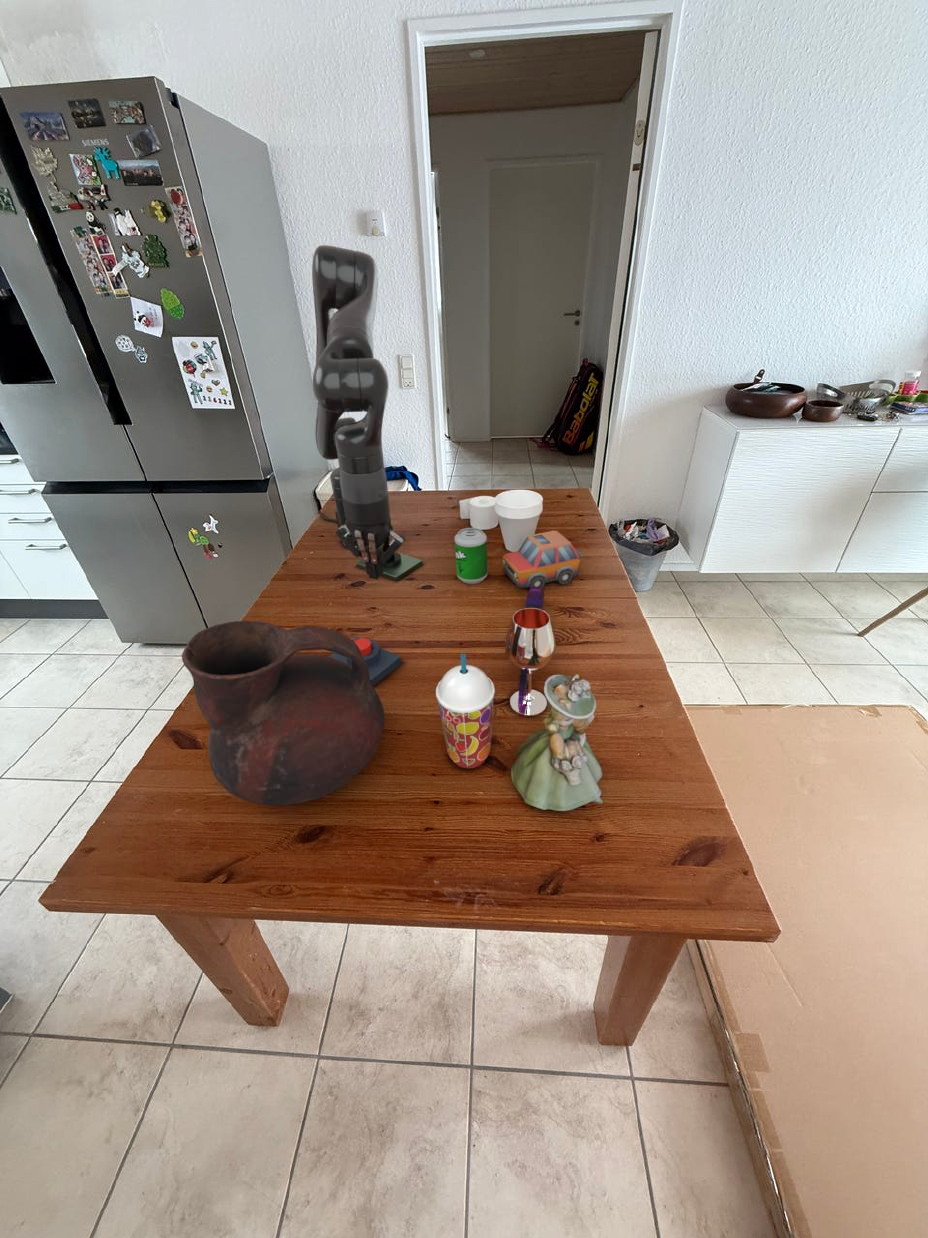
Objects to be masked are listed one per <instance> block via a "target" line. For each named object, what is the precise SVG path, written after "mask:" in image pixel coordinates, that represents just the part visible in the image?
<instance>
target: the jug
mask: <svg viewBox="0 0 928 1238" xmlns="http://www.w3.org/2000/svg"><path fill="white" fill-rule="evenodd" d="M320 650H321V651H322V650H323V651H328V652H332V653H337V654H340V655H342V656H345V657H348V658H350V659H351V660H352V667H351V666H350V665H348V664H346V663H344V662H342V661H340V660H337V659H335V658H332V657H329V656H327V655H323V654H308V653H307V654H306V653H305V654H304V653H303V654H302V653H301V654H295V653H298V652H302V651H320ZM181 661H182V663H183V665H184V667H185V669H187V671H188V672H189V673H190V675H191V678H192V681H193V691H194V696H195V700H196V703H197V706H198V709H199V710H200V712H201V714H202V716H203V718H204V720H205V721H206V723H207V724H208V726H209V727H210V730H209V733H208V743H207V744H208V745H207V746H208V748H207V749H208V750H207V751H208V759H209V764H210V769H211V771H212V773H213V776H214V777H215V780H216V781H217V782H218V783H219V785H221V786H222V787H223V788H224V789H225V790H226V791H227V793H228V792H229V794H231V795H232V796H234V797H236V798H238V799H241V800H244V801H247V802H249V803H253V804H258V805H263V806H269V807H279V806H289V805H290V806H291V805H298V804H301V803H306V802H311V801H314V800H318V799H321V798H324V797H325V796H328V795H330V794H332V793H333V792H336V791H338V790H339V789H341V788H343V787H345V786H346V785H347V784H348V783H350V782H351V781H352V780H353V779H355V778H356V777H357V776H358V775H359V774H361V772H362V771H363V770H364V769H365V767H366V766H367V765H368V764H369V762H370V761H371V759H372V758H374V755H375V754H376V752H377V750H378V748H379V746H380V744H381V742H382V741H381V740H382V737H383V733H384V728H385V710H384V706H383V703H382V701H381V699H380V696H379V694H378V692H377V691H376V689H375V688H374V686H373V687H372V685H371V684H370V683H369V677H370V674H369V670H368V666H367V664H366V662H365V660H364V659H363V657H362V655H361V652H360V649H359V647H358V646H357V645H356V643H355V642H354V641H353V639H351V638H350V637H349V636H348V635H346V634H343V633H341V632H339V631H338V630H335V629H332V628H327V627H325V626H319V625H305V626H304V625H303V626H297V627H294V628H293V627H292V628H288V629H287V628H284V627H282V626H278V625H277V624H276V625H275V624H274V623H270V622H266V621H256V620H253V621H250V620H241V621H240V620H239V621H238V620H236V621H229V622H223V623H217V624H215V625H212V626H210V627H207V628H203V629H202V630H200V631H198V632H197V633H196V634H195V635H193V637H191V639H190V640H189V641H188V642H187V644H186V645H185V647H184V649H183V651H182V653H181Z"/></svg>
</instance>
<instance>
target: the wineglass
mask: <svg viewBox="0 0 928 1238" xmlns="http://www.w3.org/2000/svg"><path fill="white" fill-rule="evenodd" d="M504 651H505V655H506V657H507V658H508V661H510V663H511V664H512V665H514V667H516V668H518V669H519V670H520V669H522V670H525V671H526V672H527V682H526V688H525V692H524V697H523V703H522V706H521V708H520V709H519V708H518V698H519V690H518V691H515V692H514V693H513V694H512V695H511V696H510V699H509V704H510V707H511V709H512V710H513V711H514V712H515V713H517V714H519V715H521V716H526V717H534V716H537V715H540V714H541V713H543V712H544V711H545V710H546V708H547V707H548V700H547V698H546V696H545V694H544V693H542V692H540V691H538V690H535V689H532V683H533V673H534V672H536V671H539V670H541V669H543V668H545V667H547V666H548V665H549V664H550V663H551V662H552V661H553V659H554V657H555V655H556V653H557V640H556V636H555V632H554V626H553V624H552V620H551V616H550V614H548V612H546V611H545V610H543V609H542V610H540V609H536V608H525V607H524V608H521V609H519V610H517V611H515V612H514V614H513V615H512V619H511V621H510V624H509V627H508V630H507V633H506V637H505V640H504Z"/></svg>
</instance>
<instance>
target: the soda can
mask: <svg viewBox="0 0 928 1238" xmlns="http://www.w3.org/2000/svg"><path fill="white" fill-rule="evenodd" d="M487 539H488V537H487V534H486V533H485V532H483V530H481V529H477V528H473V527H466V528H462V529H461V530H458V532H457V533H456V534H455V536H454V547H455V548H454V551H455V564H456V577H457V578H458V580H460V581H461V582H462V583H464V584H468V585H476V584H479V583H482V582H483V581H484V580H485V579H486V578H487V576H488V573H489V572H488V540H487Z"/></svg>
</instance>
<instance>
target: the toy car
mask: <svg viewBox="0 0 928 1238" xmlns="http://www.w3.org/2000/svg"><path fill="white" fill-rule="evenodd" d="M583 555H584V554H582V552H580V551H579V550H578V549H576V548H575V546H574V545H573V544H572V542H571V541H570V540H568V539H567V538H566V537H565V536H564V535H563V534H561V533H560V532H559V531H558V530H549V531H545V532H540V533H539V532H538V533H535V534H534V535H530V536H528V537H527V538H526V540H525V541H524V543H523V544H522V546H521V547H520V549H519V550H518V551H517V552H508V553H504V554H503V556H502V564H503V572H504V573H505V575H507V577H508V578H510V580H511V582H513V584H514V585H515V586H516V587H518V588H522V589H524V588H529V590H530V589H531V588H533V587H538V588H541V589H542V590H543V588H544V587H545V585H546V584H548V583H551V582H554V581H555V582H558V583H559V584H560V585H563V586H564V585H567V584H569V583H570V582H571V581H572V580H573V578H575V577H576V576H578V575H579V574H580V568H579V566H580V563H581V560H582V559H583V557H584V556H583Z"/></svg>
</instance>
